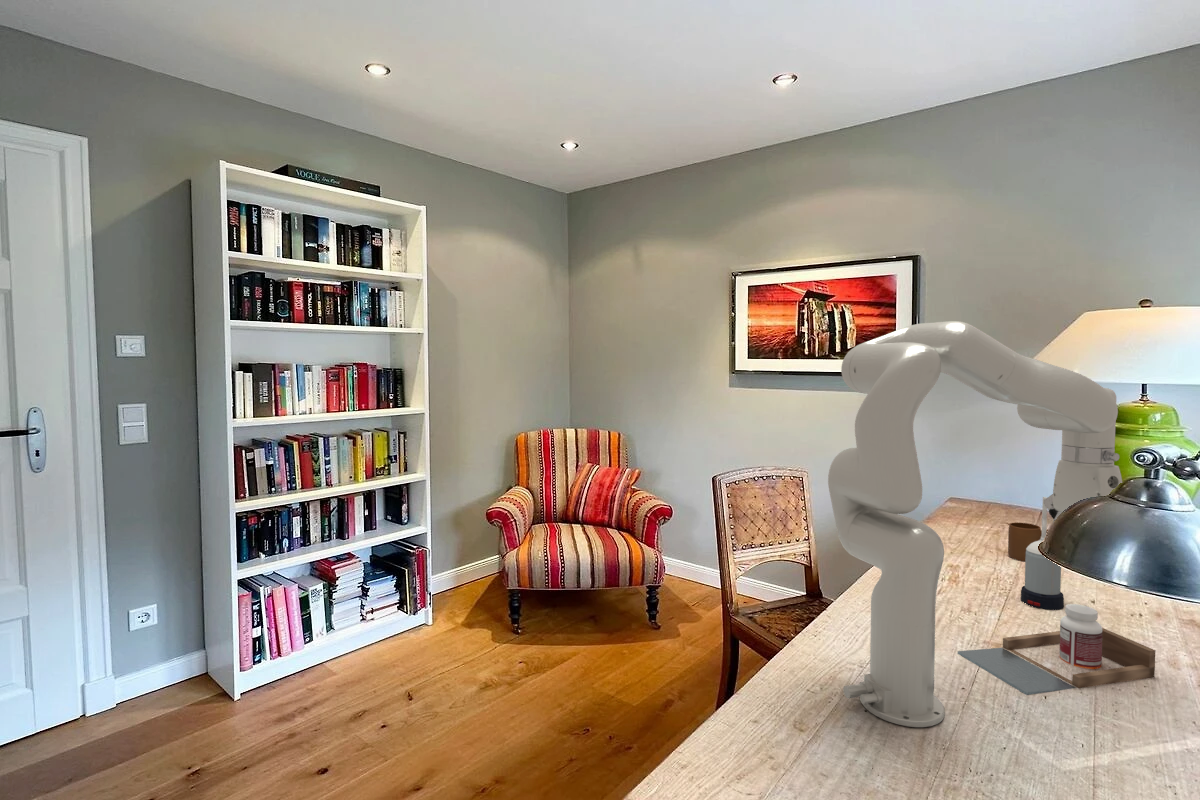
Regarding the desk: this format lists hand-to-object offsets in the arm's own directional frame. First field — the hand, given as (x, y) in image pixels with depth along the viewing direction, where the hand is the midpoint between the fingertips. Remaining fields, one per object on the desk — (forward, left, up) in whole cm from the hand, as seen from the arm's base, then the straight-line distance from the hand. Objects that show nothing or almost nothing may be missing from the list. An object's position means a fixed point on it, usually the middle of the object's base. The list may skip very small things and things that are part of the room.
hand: (1083, 551), depth 113 cm
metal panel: (-10, 0, -20) cm, 23 cm away
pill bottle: (0, 0, -22) cm, 22 cm away
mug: (+44, +52, -22) cm, 72 cm away
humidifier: (+19, +26, -22) cm, 39 cm away
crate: (-1, 0, -22) cm, 22 cm away
